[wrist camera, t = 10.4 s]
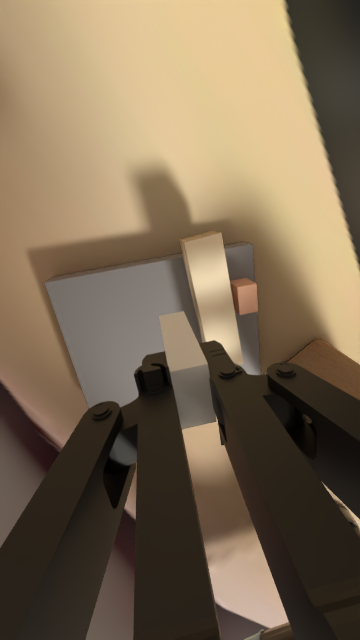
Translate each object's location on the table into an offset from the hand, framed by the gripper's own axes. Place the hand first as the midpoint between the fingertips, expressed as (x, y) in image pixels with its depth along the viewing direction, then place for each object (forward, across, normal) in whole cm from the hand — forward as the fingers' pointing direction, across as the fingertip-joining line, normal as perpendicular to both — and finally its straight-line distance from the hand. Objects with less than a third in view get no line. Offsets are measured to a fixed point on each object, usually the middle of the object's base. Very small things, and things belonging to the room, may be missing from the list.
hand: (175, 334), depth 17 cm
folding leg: (+14, +5, -4) cm, 15 cm away
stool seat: (+17, -1, -6) cm, 18 cm away
